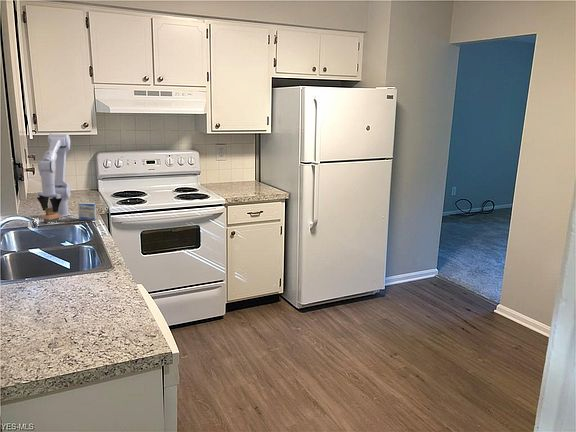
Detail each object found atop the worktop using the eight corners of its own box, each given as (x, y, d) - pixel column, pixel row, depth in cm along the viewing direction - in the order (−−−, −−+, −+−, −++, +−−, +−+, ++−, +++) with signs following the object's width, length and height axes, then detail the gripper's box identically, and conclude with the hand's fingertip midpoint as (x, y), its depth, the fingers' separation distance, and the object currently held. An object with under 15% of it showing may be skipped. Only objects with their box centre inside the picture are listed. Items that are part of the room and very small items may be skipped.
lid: (41, 218, 230) (40, 208, 229) (52, 215, 236) (51, 206, 235) (49, 219, 227) (48, 209, 226) (61, 217, 233) (60, 207, 232)
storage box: (43, 222, 231) (43, 216, 230) (52, 220, 235) (52, 214, 235) (50, 223, 229) (50, 217, 228) (59, 221, 233) (58, 215, 233)
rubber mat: (57, 220, 235) (57, 220, 235) (69, 218, 241) (69, 217, 241) (67, 222, 232) (67, 221, 232) (80, 219, 238) (80, 219, 238)
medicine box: (78, 220, 236) (78, 203, 234) (80, 218, 240) (79, 202, 238) (94, 220, 238) (94, 204, 236) (96, 218, 242) (95, 202, 240)
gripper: (31, 184, 227) (33, 211, 230) (51, 186, 221) (53, 214, 224) (43, 182, 234) (46, 208, 236) (63, 185, 228) (65, 211, 230)
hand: (50, 211), depth 231 cm, fingers open, 7 cm apart
